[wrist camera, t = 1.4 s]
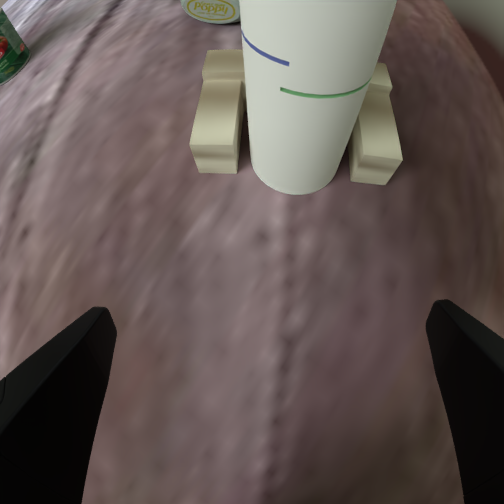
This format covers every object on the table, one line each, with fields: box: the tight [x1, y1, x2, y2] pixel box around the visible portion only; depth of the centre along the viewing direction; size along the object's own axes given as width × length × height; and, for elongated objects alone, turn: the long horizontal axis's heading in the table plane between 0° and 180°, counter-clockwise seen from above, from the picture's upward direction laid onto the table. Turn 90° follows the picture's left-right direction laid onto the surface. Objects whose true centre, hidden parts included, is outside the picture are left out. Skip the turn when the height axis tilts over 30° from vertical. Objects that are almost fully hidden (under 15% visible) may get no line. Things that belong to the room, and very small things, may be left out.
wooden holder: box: [189, 50, 403, 185], centre depth 23 cm, size 10×15×5 cm, turn 86°
